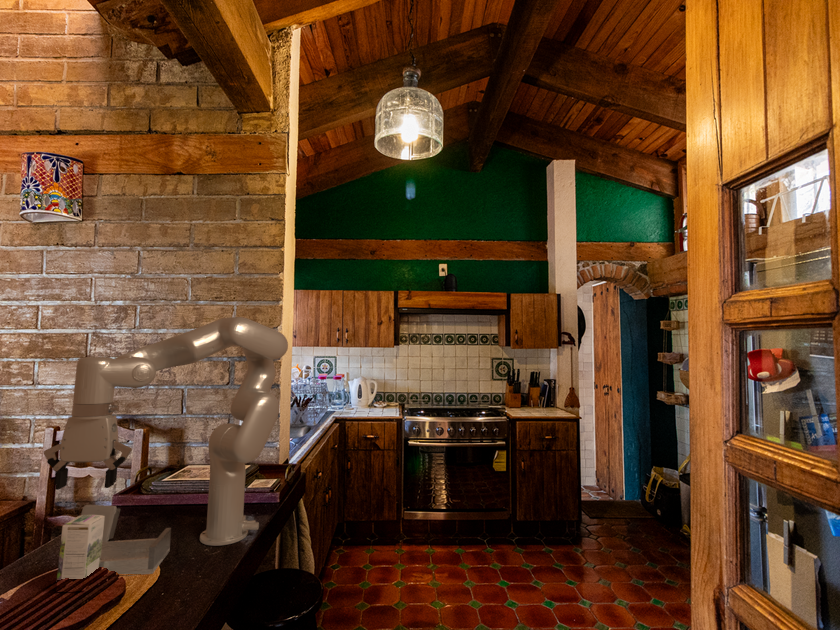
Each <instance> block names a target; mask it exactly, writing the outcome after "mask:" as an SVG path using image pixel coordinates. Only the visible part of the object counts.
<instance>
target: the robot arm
mask: <svg viewBox="0 0 840 630" xmlns="http://www.w3.org/2000/svg"><path fill="white" fill-rule="evenodd" d="M231 347H235V348H237V347H239V348H241V349H242V352H243V354H244V356H245V359H246V363H247V370H246V374H245V375H244V378H243V380H242V382H241V384H240V386H239V387H238V390H237V392H236V394H235V395H234V398H233V399H232V401H231V404H230V407H229V409H230V414H231V416H232V417H233V418H234V419H235V420H238V421H240V422H242V423H241V424H237V423H232V422H231V423H223V424H220V425H218V426H217V427H215V428H214V429H213V431H212V432H211V433H210V436H209V438H208V448H207V449H208V455H209V456H208V457H209V483H208V497H207V513H206V514H207V515H206V529H205V530H204V531H202V532H201V533H200V535H199V541H200V543H202V544H204V545H206V546H215V547H216V546H218V547H219V546H226V545H231V544H235V543H238V542H240V541H242V540H243V539H245V538H246V537H247V536H248V535H249V531H250V530H251V531H257V530H259V528H260V523H259V521H257V522H256V520H254V519H253V520H248V519H246V515H244V510H245V509H244V508H245V507H244V506H245V490H246V489H245V488H246V473H247V472H246V470H247V469H246V464H247V463H252V462H253V461H255V460H256V459H257V458H258V457H259V456H260V455H261V454H262V452H263V450H264V448H265V445H266V444H267V442H268V439H269V438H270V435H271V433H272V431H273V429H274V426H275V424H276V422H277V420H278V417H279V413H280V402H279V399H278V398H277V396H276V395H275V394H273V393H272V392H270V391H271V389H272V386H273V384H274V381H275V379H276V366H275V363H274V360H275V361H276V360H278V359H281V358H283V356H285V355H286V354H287V352H288V349H289V343H288V340H287V338H286V336H285V335H284V334H283V333H282V332H280V331H278V330H276V329H273V328H271V327H269V326H266V325H264V324H262V323H259V322H257V321H255V320H253V319H249V318H247V317H243V316H236V317H235V316H232V317H231V316H230V317H223V318H219V319H217V320H214V321H212V322H209V323H206V324H204V325H202V326H199V327H196V328H194V329H191V330H189V331H186V332H183V333H180V334H178V335H175V336H172V337H169V338H167V339H166V338H165V339H163V340H160V341H157V342H154V343H150V344H148V345H144V346H142V347H139V348H137V349H134V350H132V351H130V352H126V353H124V354H122V355H119V356H117V357H115V358H112V357H108V356H107V357H106V356H105V357H103V356H86V357H81V358H79V359H78V360H77V362H76V363H77V364H76V368H75V369H76V370H75V379H74V388H73V399H72V407H71V416H69V417H68V418H67V420H66V423H65V426H64V430H63V433H62V437H61V441H60V442H61V443H58V444H56V445H54V446H52V447H48V448H47V449H45V450H44V451H43V456H44V457H45V459H46V462H47V464H48V465H49V466H50V467H52V470H53V472H54V483H53V484H54V485H55V490H57V491H58V490H61V489H62V488H65V487H66V486H67V485H68V476H69V467H67V466H68V465H70V464H71V463H101V462H102V463H104V464H105V466H106V467H107V468H108V469H106V471H105V475H104V476H105V478H104V488H105V489H109V488H110V487H112V486H114V485H115V483H116V482H117V477H118V467H120V466H121V465H122V464H124V462H125V461H126V460H127V459H128V458H129V456H130V454H131V453H132V451H133V448H132V447H129V446H128V445H125V444H123V443H121V442H120V441H119V430H118V429H119V427H118V419H117V416H116V415H113V414H114V413H115V412H119V411H120V406H119V405H115V401H114V396H115V388H116V387H118V388H130V389H139V388H144V387H147V386H148V385H150V384H151V383H152V382H153V381H154V380H155V379H156V375H157V372H159V371H162V370H165V369H169V368H173V367H180V366H181V367H182V366H189V365H191V364H194V363H197V362H200V361H202V360H204V359H206V358H208V357H210V356H213V355H215V354H216V353H219V352H221V351H224V350H226V349H228V348H231ZM118 451H119V452H120V453H121V454H120V456H119V458H117V457H116V456H117V455H118ZM56 452H59V458H58V457H57V456H56Z"/></svg>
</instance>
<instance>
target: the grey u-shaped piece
mask: <svg viewBox="0 0 840 630" xmlns="http://www.w3.org/2000/svg"><path fill="white" fill-rule="evenodd" d="M171 533H172V527H165V529H164V530H163V531H162V532H161V533H160V534H159V536H158V537H157V538H143V539H125V540H110V541H109V540H108V541H107V542H102V550H101V559H100V567H104V568H107V569H108V570H109V571H115V572H117V573H118V574H141V575H151V574H154V572H155V571H156V570H157V569H158V567H159V566H160V565H161V563H163V560H164V559H165V558H166V557H167V556H168V554H169V552H171V535H172V534H171Z"/></svg>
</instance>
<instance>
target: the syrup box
mask: <svg viewBox="0 0 840 630" xmlns="http://www.w3.org/2000/svg"><path fill="white" fill-rule="evenodd" d="M104 519H105V516H102V515H81V514H80V515H78V516H77V517H75V518H72V519H71V520H69V521H68V522H66V523H64V524H63V525H62V527H61V537H60V544H59V545H60V546H59V548H60V549H59V556H58V563H57V564H58V566H57V575H56V581H57V580H61V579H65V578H69V579H83V578H86V577H87V576H89V575H90V574H91V573H93V572H94V571H95V570H96V569H98V568H99V567H100V559H101V550H102V539H103V529H104Z"/></svg>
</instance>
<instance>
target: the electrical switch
mask: <svg viewBox="0 0 840 630" xmlns="http://www.w3.org/2000/svg"><path fill="white" fill-rule="evenodd" d="M80 513H81V514H80V516H81V515H102V516H105V519H104V529H103V539H102V542H107V541H109V540H111V539H114V536H115V532H116V529H117V523H118V521H119V516H120V513H121V508H117V506H116V505H101V504H99V505H98V504H85V505H84V506H83V507H82V511H81V512H80Z"/></svg>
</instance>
